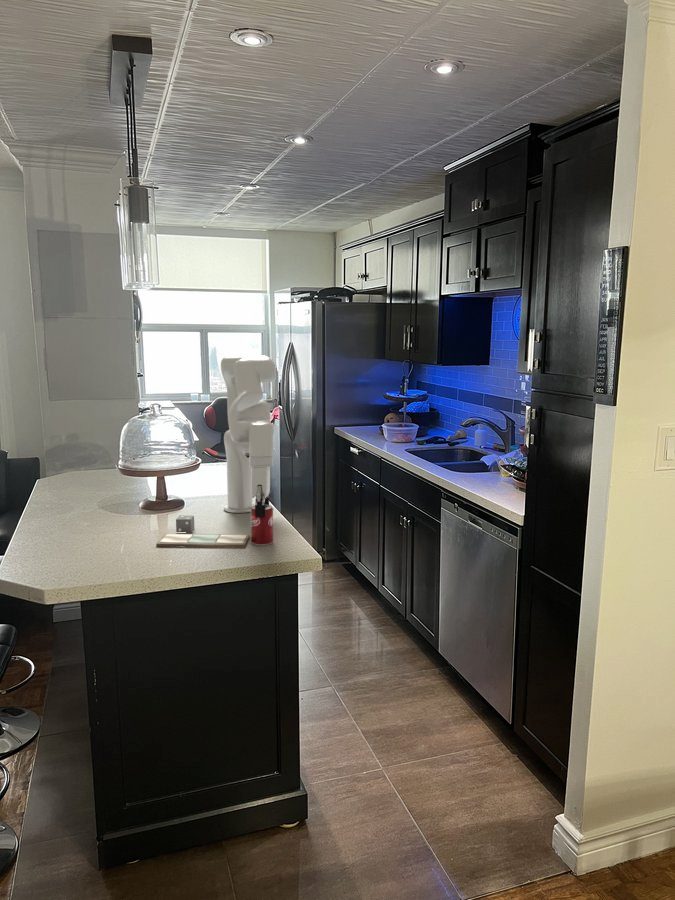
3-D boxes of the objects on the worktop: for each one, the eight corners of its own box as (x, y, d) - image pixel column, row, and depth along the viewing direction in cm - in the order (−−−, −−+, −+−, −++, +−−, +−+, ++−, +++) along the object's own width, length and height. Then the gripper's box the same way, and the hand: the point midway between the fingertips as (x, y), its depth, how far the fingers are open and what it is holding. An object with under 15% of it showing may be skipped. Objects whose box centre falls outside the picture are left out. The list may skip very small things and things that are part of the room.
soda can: (252, 547, 212) (252, 510, 210) (249, 540, 219) (249, 504, 217) (275, 545, 214) (275, 508, 212) (271, 538, 221) (271, 503, 219)
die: (180, 529, 232) (179, 515, 231) (194, 529, 232) (194, 515, 231) (176, 533, 227) (175, 519, 226) (191, 533, 227) (190, 519, 226)
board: (165, 536, 223) (165, 533, 223) (249, 537, 222) (249, 534, 222) (156, 546, 212) (156, 543, 212) (244, 547, 212) (244, 544, 211)
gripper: (253, 456, 221) (254, 507, 223) (245, 465, 204) (246, 520, 206) (276, 456, 221) (276, 507, 223) (269, 465, 204) (270, 520, 206)
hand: (262, 513), depth 215 cm, fingers open, 9 cm apart
